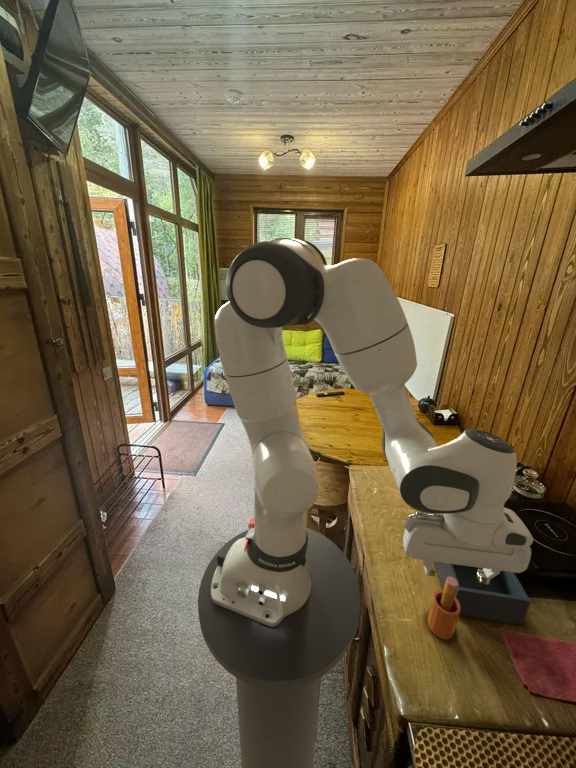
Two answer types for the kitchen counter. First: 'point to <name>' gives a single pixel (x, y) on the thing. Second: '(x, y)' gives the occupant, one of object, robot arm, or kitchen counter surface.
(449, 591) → the pencil
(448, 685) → the kitchen counter surface
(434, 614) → the pen cup
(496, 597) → the bin
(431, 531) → the robot arm
